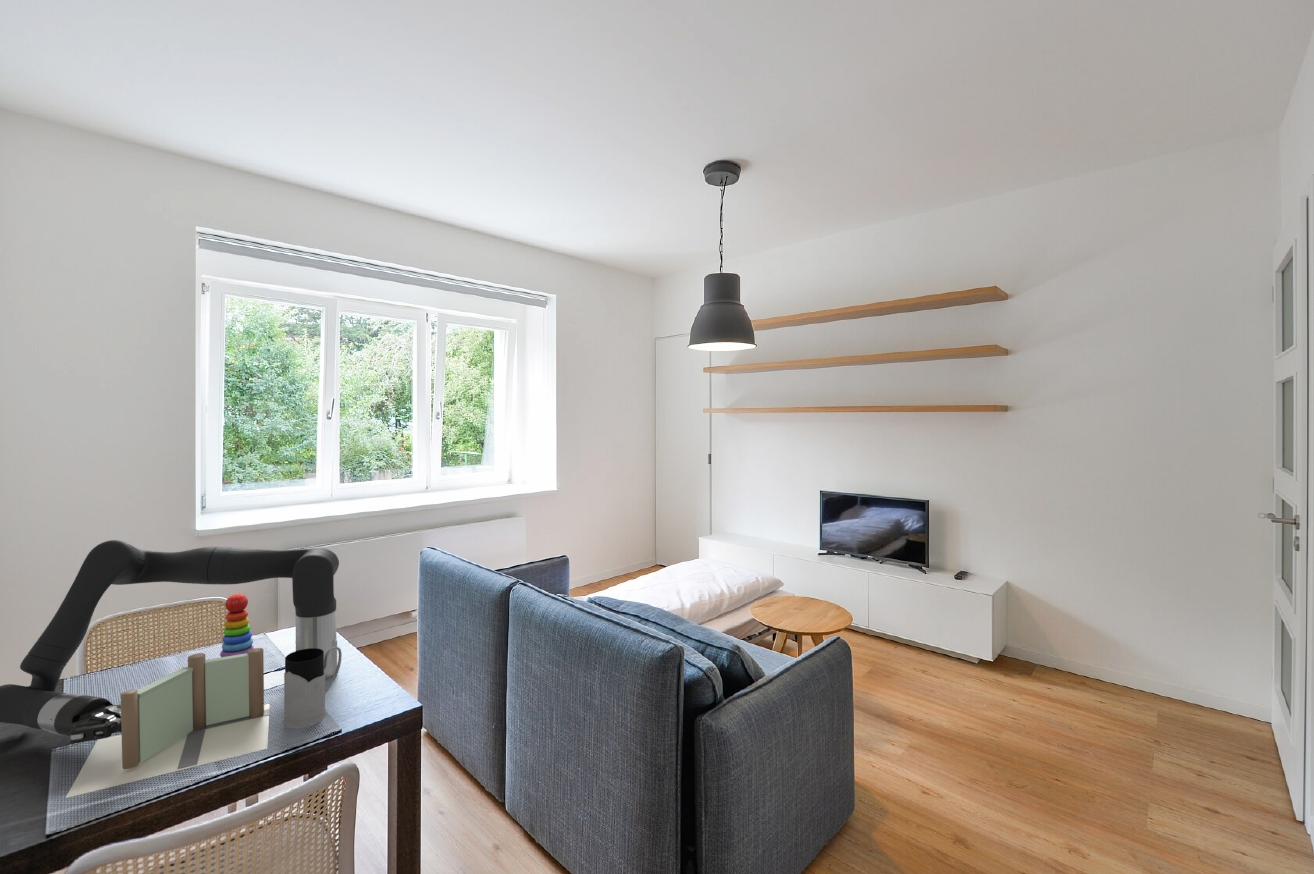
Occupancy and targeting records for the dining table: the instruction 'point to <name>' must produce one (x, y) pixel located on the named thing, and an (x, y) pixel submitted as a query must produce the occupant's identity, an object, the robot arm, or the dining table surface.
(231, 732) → the card
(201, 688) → the fixed fence
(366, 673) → the dining table surface
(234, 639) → the stacking toy
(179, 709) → the fence panel
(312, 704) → the grey and black mug
